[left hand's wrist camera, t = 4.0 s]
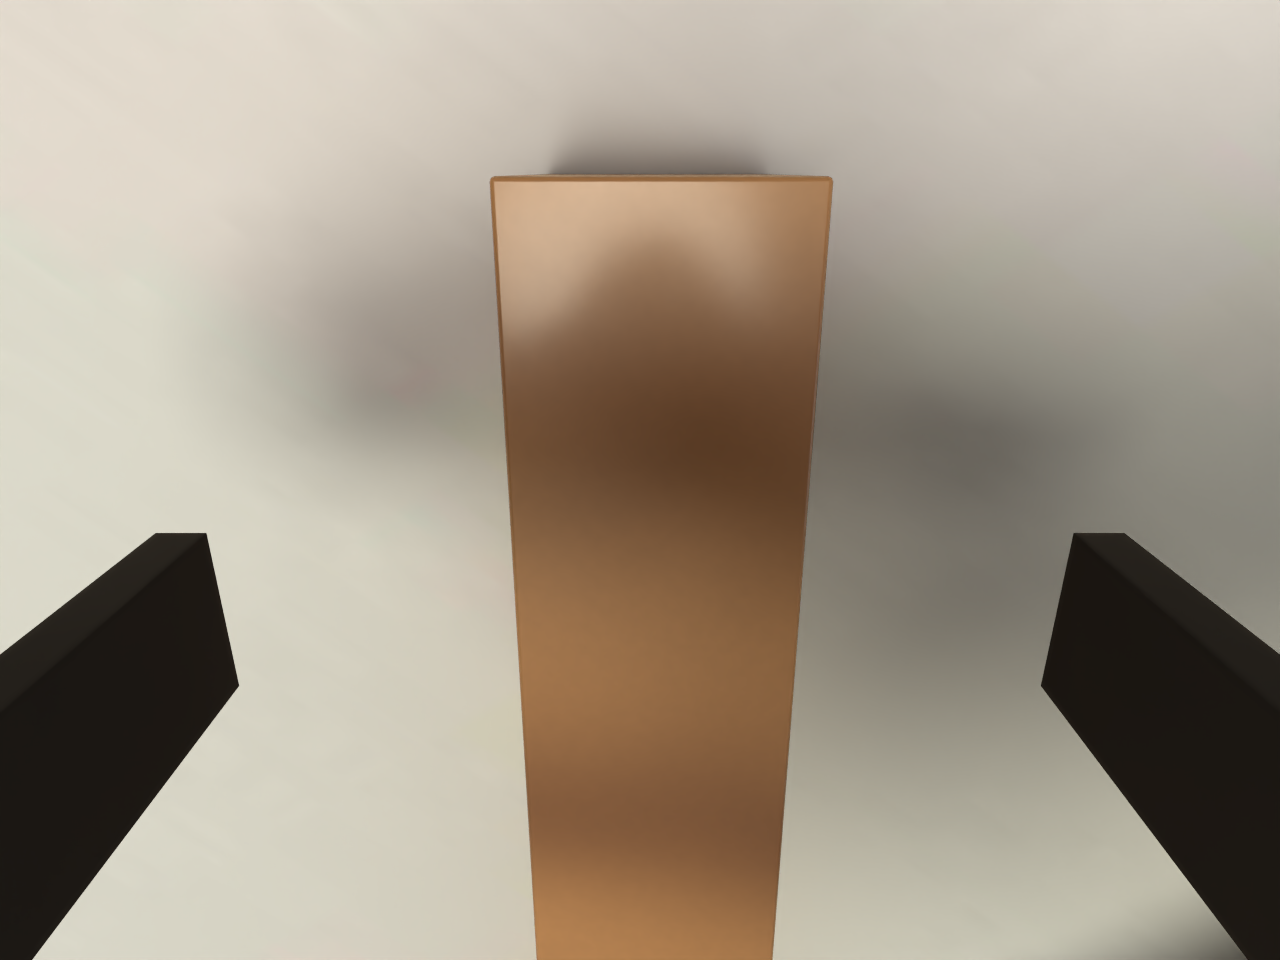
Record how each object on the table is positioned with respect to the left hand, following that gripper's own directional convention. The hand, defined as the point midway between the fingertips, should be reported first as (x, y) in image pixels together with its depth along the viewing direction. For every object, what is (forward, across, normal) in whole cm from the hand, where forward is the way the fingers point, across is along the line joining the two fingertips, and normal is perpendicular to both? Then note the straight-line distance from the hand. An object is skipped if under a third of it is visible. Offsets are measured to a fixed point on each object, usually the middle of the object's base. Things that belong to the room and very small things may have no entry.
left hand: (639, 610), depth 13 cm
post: (+9, 0, -26) cm, 28 cm away
